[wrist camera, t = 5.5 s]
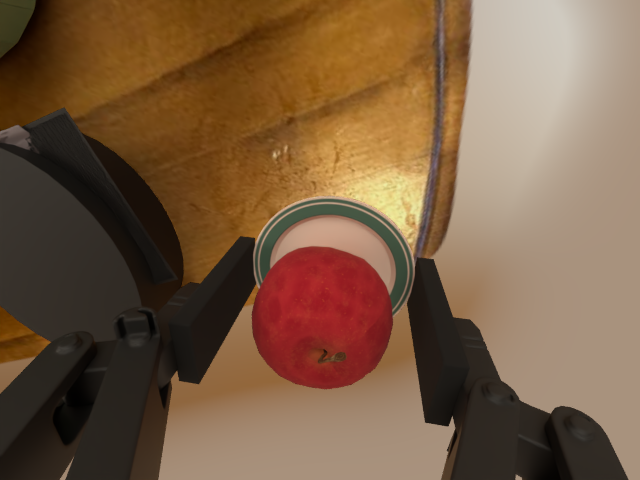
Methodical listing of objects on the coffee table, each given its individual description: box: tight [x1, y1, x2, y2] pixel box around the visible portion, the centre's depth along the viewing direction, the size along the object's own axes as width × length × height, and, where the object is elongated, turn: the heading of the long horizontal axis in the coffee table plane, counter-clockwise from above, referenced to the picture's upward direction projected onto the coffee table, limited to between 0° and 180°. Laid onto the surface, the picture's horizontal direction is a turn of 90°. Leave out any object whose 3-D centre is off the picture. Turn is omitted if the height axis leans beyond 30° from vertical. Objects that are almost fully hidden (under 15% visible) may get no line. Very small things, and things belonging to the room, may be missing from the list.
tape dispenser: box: [0, 108, 183, 342], centre depth 26 cm, size 14×18×8 cm
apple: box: [252, 196, 415, 389], centre depth 14 cm, size 8×8×6 cm
